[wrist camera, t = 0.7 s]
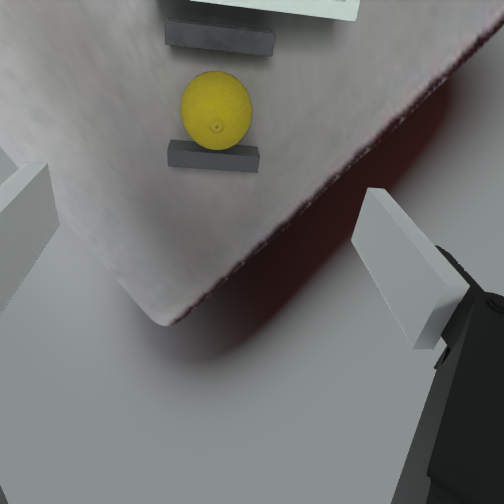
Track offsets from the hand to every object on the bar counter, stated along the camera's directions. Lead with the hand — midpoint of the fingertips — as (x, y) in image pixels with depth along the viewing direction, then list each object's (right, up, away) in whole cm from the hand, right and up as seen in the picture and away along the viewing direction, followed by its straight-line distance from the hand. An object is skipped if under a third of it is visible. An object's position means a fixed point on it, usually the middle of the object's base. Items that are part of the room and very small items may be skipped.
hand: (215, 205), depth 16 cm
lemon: (-1, +11, +17) cm, 20 cm away
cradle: (-1, +11, +17) cm, 20 cm away
